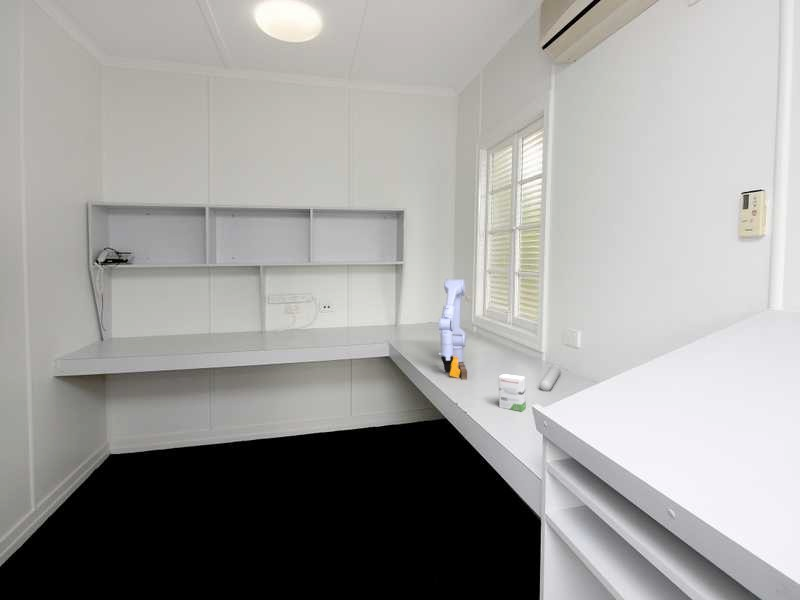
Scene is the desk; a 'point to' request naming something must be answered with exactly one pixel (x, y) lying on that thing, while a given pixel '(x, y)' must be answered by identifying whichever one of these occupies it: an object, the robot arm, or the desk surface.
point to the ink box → (512, 392)
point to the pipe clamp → (454, 368)
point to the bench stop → (462, 370)
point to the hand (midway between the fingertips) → (447, 371)
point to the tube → (550, 378)
